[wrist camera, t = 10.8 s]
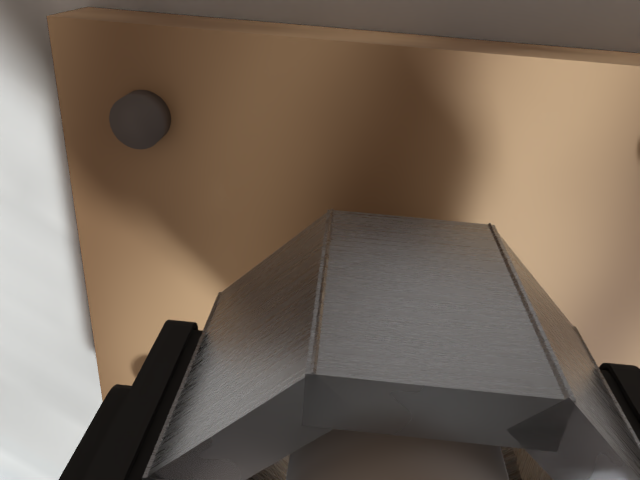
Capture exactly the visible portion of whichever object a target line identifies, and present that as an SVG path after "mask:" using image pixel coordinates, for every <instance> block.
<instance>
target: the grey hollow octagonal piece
mask: <svg viewBox="0 0 640 480" xmlns="http://www.w3.org/2000/svg"><path fill="white" fill-rule="evenodd" d="M333 429H338V430H348V431H358V432H367V433H377V434H387V435H397V436H406V437H416V438H426V439H435V440H445V441H455V442H464V443H474V444H484V445H494V446H500V447H501V451H502V454H503V458H504V462H505V466H506V469H507V473H508V477H509V480H640V441H639V440H638V438H637V436H636V434H635V432H634V431H633V429H632V427H631V425H630V423H629V422H628V420H627V418H626V416H625V414H624V413H623V411H622V409H621V407H620V405H619V403H618V402H617V400H616V398H615V396H614V394H613V393H612V391H611V389H610V387H609V385H608V384H607V382H606V380H605V378H604V376H603V375H602V373H601V371H600V369H599V367H598V366H597V364H596V362H595V360H594V358H593V357H592V355H591V353H590V351H589V349H588V347H587V346H586V344H585V342H584V340H583V338H582V337H581V335H580V333H579V331H578V329H577V328H576V326H573V325H572V324H571V323H570V322H569V320H568V319H567V318H566V317H565V315H564V314H563V313H562V312H561V310H560V309H559V308H558V307H557V305H556V304H555V303H554V302H553V300H552V299H551V298H550V297H549V295H548V294H547V293H546V292H545V290H544V289H543V288H542V287H541V285H540V284H539V283H538V282H537V280H536V279H535V278H534V277H533V275H532V274H531V273H530V272H529V270H528V269H527V268H526V267H525V265H524V264H523V263H522V262H521V261H520V259H519V258H518V257H517V256H516V254H515V253H514V252H513V251H512V249H511V248H510V247H509V246H508V244H507V243H506V242H505V241H504V239H503V238H502V237H501V236H500V234H499V233H498V231H497V229H496V227H495V225H492V224H491V223H489V224H479V223H468V222H458V221H447V220H436V219H425V218H414V217H403V216H393V215H382V214H371V213H360V212H349V211H338V210H334V209H333V208H332V209H331V210H328V209H327V213H325V214H324V215H323V216H321V217H320V218H319V219H317V220H316V221H315V222H313V223H312V224H311V225H309V226H308V227H307V228H306V229H304V230H303V231H302V232H300V233H299V234H298V235H296V236H295V237H294V238H292V239H291V240H290V241H288V242H287V243H286V244H284V245H283V246H282V247H280V248H279V249H278V250H277V251H275V252H274V253H273V254H271V255H270V256H269V257H267V258H266V259H265V260H263V261H262V262H261V263H259V264H258V265H257V266H255V267H254V268H253V269H251V270H250V271H249V272H247V273H246V274H245V275H244V276H242V277H241V278H240V279H238V280H237V281H236V282H234V283H233V284H232V285H230V286H229V287H228V288H226V289H225V290H224V291H222V292H219V293H218V295H217V297H216V300H215V302H214V305H213V307H212V310H211V312H210V314H209V317H208V319H207V322H206V324H205V326H204V329H203V331H202V334H201V337H200V339H199V342H198V344H197V346H196V349H195V351H194V354H193V356H192V359H191V361H190V363H189V366H188V368H187V371H186V373H185V375H184V378H183V380H182V383H181V385H180V388H179V390H178V392H177V395H176V397H175V400H174V402H173V404H172V407H171V409H170V412H169V414H168V417H167V419H166V421H165V424H164V426H163V429H162V431H161V433H160V436H159V438H158V441H157V443H156V445H155V448H154V450H153V453H152V455H151V458H150V460H149V462H148V465H147V467H146V470H145V472H144V474H143V477H142V480H286V475H287V469H288V462H289V455H290V454H291V453H293V452H295V451H296V450H298V449H300V448H302V447H303V446H305V445H307V444H308V443H310V442H312V441H314V440H315V439H317V438H319V437H321V436H322V435H324V434H326V433H327V432H329V431H331V430H333Z"/></svg>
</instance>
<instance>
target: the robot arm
mask: <svg viewBox="0 0 640 480" xmlns="http://www.w3.org/2000/svg"><path fill="white" fill-rule="evenodd" d="M201 334H202V330H198V325H197V323H196V322H188V321H178V320H167V321H166V322H165V323H164V325H163V327H162V329H161V331H160V333H159V335H158V337H157V338H156V340H155V342H154V344H153V346H152V348H151V350H150V352H149V354H148V356H147V358H146V360H145V361H144V363H143V365H142V367H141V369H140V371H139V373H138V375H137V377H136V379H135V381H134V382H133V384H132V386H130V385H120V384H116V385H114V386H113V387H112V388H111V389H110V391H109V392H108V394H107V396H106V397H105V399H104V401H103V403H102V404H101V406H100V408H99V410H98V411H97V413H96V415H95V417H94V418H93V420H92V422H91V424H90V425H89V427H88V429H87V431H86V433H85V434H84V436H83V438H82V440H81V441H80V443H79V445H78V447H77V448H76V450H75V452H74V454H73V455H72V457H71V459H70V461H69V462H68V464H67V466H66V468H65V470H64V471H63V473H62V475H61V477H60V478H59V480H142V477H143V474H144V472H145V470H146V467H147V465H148V462H149V460H150V458H151V455H152V453H153V450H154V448H155V445H156V443H157V441H158V438H159V436H160V433H161V431H162V429H163V426H164V424H165V421H166V419H167V417H168V414H169V412H170V409H171V407H172V404H173V402H174V400H175V397H176V395H177V392H178V390H179V388H180V385H181V383H182V380H183V378H184V375H185V373H186V371H187V368H188V366H189V363H190V361H191V359H192V356H193V354H194V351H195V349H196V346H197V344H198V342H199V339H200V337H201ZM599 369H600V371H601V373H602V375H603V376H604V378H605V380H606V382H607V384H608V385H609V387H610V389H611V391H612V393H613V394H614V396H615V398H616V400H617V402H618V403H619V405H620V407H621V409H622V411H623V413H624V414H625V416H626V418H627V420H628V422H629V423H630V425H631V427H632V429H633V431H634V432H635V434H636V436H637V438H638V440H639V441H640V369H639V368H638V367H637V366H634V365H625V364H615V363H602V364H601V365H600V366H599Z"/></svg>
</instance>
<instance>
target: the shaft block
mask: <svg viewBox="0 0 640 480" xmlns="http://www.w3.org/2000/svg"><path fill="white" fill-rule="evenodd" d="M47 22H48V29H49V36H50V43H51V50H52V56H53V63H54V70H55V77H56V84H57V91H58V98H59V105H60V111H61V118H62V125H63V132H64V139H65V146H66V153H67V159H68V166H69V173H70V180H71V187H72V194H73V201H74V207H75V214H76V221H77V228H78V235H79V242H80V249H81V255H82V262H83V269H84V276H85V283H86V290H87V297H88V304H89V310H90V317H91V324H92V331H93V338H94V345H95V352H96V358H97V365H98V372H99V379H100V386H101V393H102V400H103V401H104V399H105V397H106V396H107V394H108V392H109V391H110V389H111V388H112V387H113V386H114V385H116V384H120V385H130V386H132V384H133V382H134V381H135V379H136V377H137V375H138V373H139V371H140V369H141V367H142V365H143V363H144V361H145V360H146V358H147V356H148V354H149V352H150V350H151V348H152V346H153V344H154V342H155V340H156V338H157V337H158V335H159V333H160V331H161V329H162V327H163V325H164V323H165V322H166V321H167V320H178V321H188V322H196V323H197V325H198V330H202V331H203V329H204V326H205V324H206V322H207V319H208V317H209V314H210V312H211V310H212V307H213V305H214V302H215V300H216V297H217V295H218V293H219V292H222V291H224V290H225V289H226V288H228V287H229V286H230V285H232V284H233V283H234V282H236V281H237V280H238V279H240V278H241V277H242V276H244V275H245V274H246V273H247V272H249V271H250V270H251V269H253V268H254V267H255V266H257V265H258V264H259V263H261V262H262V261H263V260H265V259H266V258H267V257H269V256H270V255H271V254H273V253H274V252H275V251H277V250H278V249H279V248H280V247H282V246H283V245H284V244H286V243H287V242H288V241H290V240H291V239H292V238H294V237H295V236H296V235H298V234H299V233H300V232H302V231H303V230H304V229H306V228H307V227H308V226H309V225H311V224H312V223H313V222H315V221H316V220H317V219H319V218H320V217H321V216H323V215H324V214H325V213H327V209H328V210H331V209H332V208H333V209H334V210H338V211H349V212H360V213H371V214H382V215H393V216H403V217H414V218H425V219H436V220H447V221H458V222H468V223H479V224H489V223H491V224H492V225H495V227H496V229H497V231H498V233H499V234H500V236H501V237H502V238H503V239H504V241H505V242H506V243H507V244H508V246H509V247H510V248H511V249H512V251H513V252H514V253H515V254H516V256H517V257H518V258H519V259H520V261H521V262H522V263H523V264H524V265H525V267H526V268H527V269H528V270H529V272H530V273H531V274H532V275H533V277H534V278H535V279H536V280H537V282H538V283H539V284H540V285H541V287H542V288H543V289H544V290H545V292H546V293H547V294H548V295H549V297H550V298H551V299H552V300H553V302H554V303H555V304H556V305H557V307H558V308H559V309H560V310H561V312H562V313H563V314H564V315H565V317H566V318H567V319H568V320H569V322H570V323H571V324H572V325H573V326H576V328H577V329H578V331H579V333H580V335H581V337H582V338H583V340H584V342H585V344H586V346H587V347H588V349H589V351H590V353H591V355H592V357H593V358H594V360H595V362H596V364H597V366H598V367H599V366H600V365H601V364H602V363H615V364H625V365H634V366H637V367H638V368H639V369H640V53H630V52H618V51H607V50H595V49H583V48H571V47H559V46H547V45H535V44H523V43H511V42H499V41H487V40H475V39H464V38H452V37H440V36H428V35H416V34H404V33H392V32H380V31H368V30H356V29H344V28H332V27H321V26H309V25H297V24H285V23H273V22H261V21H249V20H237V19H225V18H213V17H201V16H189V15H178V14H166V13H154V12H142V11H130V10H118V9H106V8H94V7H85V8H80V9H76V10H71V11H67V12H62V13H58V14H53V15H49V16H47ZM286 480H509V477H508V473H507V469H506V466H505V462H504V458H503V454H502V451H501V447H500V446H494V445H484V444H474V443H464V442H455V441H445V440H435V439H426V438H416V437H406V436H397V435H387V434H377V433H367V432H358V431H348V430H338V429H333V430H331V431H329V432H327V433H326V434H324V435H322V436H321V437H319V438H317V439H315V440H314V441H312V442H310V443H308V444H307V445H305V446H303V447H302V448H300V449H298V450H296V451H295V452H293V453H291V454H290V455H289V462H288V469H287V475H286Z"/></svg>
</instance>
